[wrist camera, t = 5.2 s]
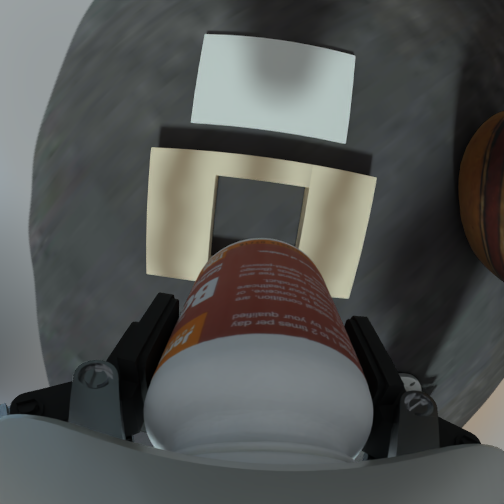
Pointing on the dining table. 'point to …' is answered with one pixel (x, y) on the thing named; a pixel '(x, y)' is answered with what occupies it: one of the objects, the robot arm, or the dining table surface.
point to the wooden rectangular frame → (257, 168)
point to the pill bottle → (260, 366)
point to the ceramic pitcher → (484, 194)
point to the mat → (274, 86)
